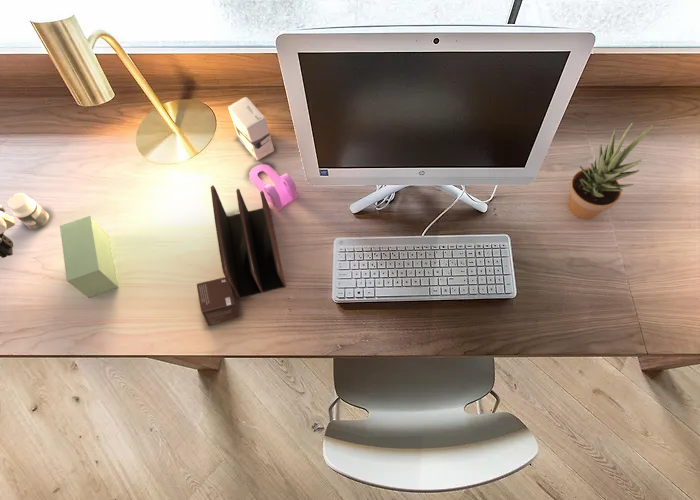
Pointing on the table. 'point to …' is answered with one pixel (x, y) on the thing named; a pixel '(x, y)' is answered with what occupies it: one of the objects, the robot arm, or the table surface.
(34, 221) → the pill bottle
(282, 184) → the bracket
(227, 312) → the box
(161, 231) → the table surface
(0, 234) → the robot arm
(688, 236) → the table surface
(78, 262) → the tissue box
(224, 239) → the letter holder
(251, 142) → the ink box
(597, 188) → the potted plant
